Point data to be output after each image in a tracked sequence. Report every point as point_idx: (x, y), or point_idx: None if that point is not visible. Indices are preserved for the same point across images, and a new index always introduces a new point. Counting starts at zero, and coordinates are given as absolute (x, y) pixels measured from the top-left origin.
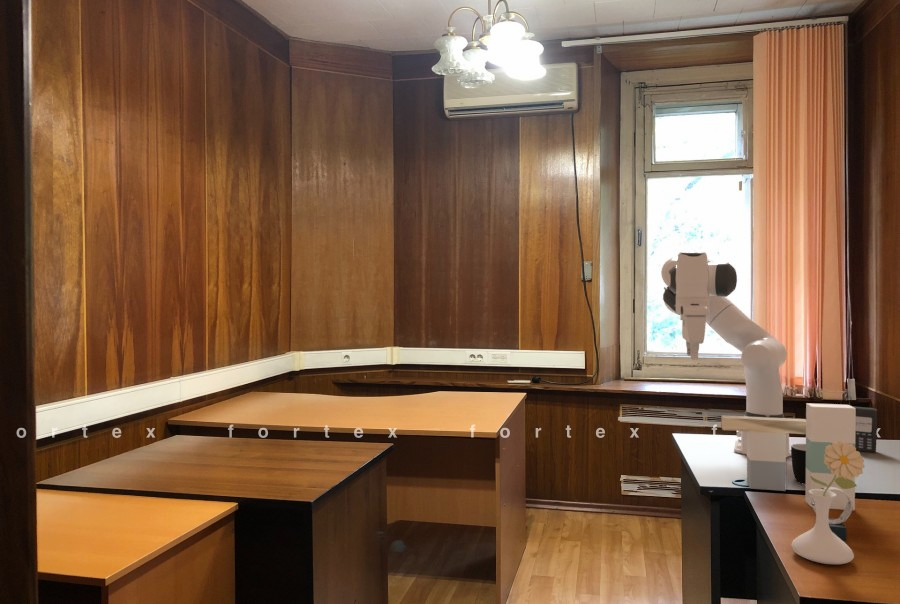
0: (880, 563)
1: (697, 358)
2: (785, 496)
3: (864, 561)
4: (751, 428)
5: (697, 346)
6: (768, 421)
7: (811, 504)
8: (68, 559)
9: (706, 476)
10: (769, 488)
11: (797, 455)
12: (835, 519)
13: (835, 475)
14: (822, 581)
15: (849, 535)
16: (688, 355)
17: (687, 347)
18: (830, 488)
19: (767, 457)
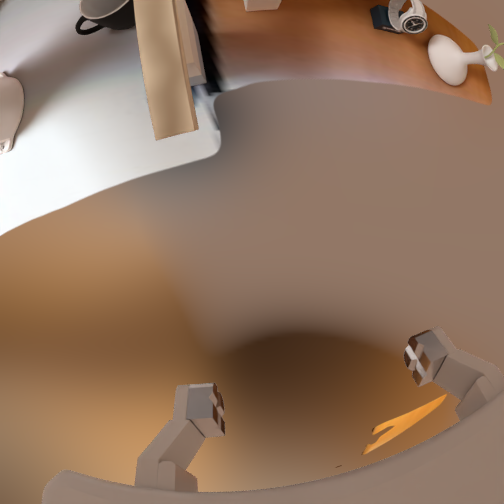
0: (432, 15)
1: (438, 328)
2: (231, 34)
3: (434, 26)
4: (184, 59)
5: (493, 375)
6: (174, 15)
7: (277, 7)
8: (432, 408)
9: (160, 158)
10: (201, 54)
11: (130, 7)
12: (389, 12)
13: (502, 44)
14: (476, 82)
15: (374, 3)
16: (222, 399)
17: (197, 448)
18: (419, 9)
19: (195, 43)
